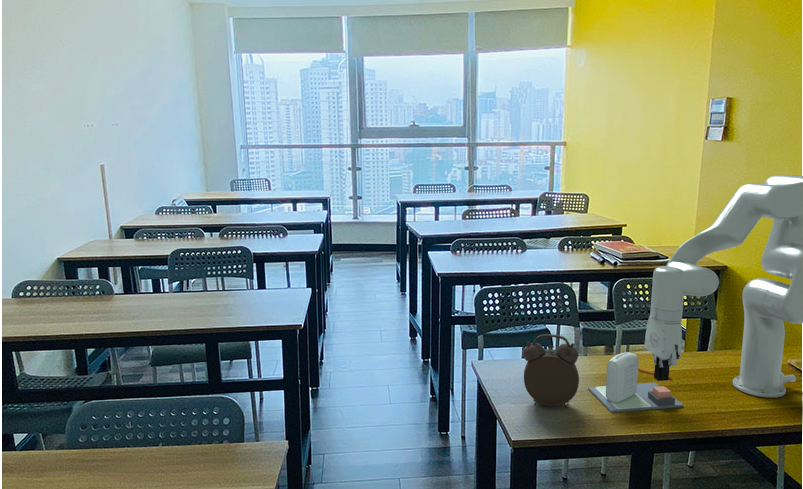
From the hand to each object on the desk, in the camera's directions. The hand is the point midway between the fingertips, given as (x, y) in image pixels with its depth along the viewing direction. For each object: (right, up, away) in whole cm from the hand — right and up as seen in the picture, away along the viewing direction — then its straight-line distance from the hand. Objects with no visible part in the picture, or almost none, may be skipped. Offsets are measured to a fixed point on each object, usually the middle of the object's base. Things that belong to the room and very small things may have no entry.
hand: (661, 379), depth 147 cm
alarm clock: (-29, -8, +2) cm, 30 cm away
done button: (+1, -5, +1) cm, 5 cm away
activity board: (-5, -6, +5) cm, 9 cm away
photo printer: (-9, -6, +4) cm, 12 cm away
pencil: (+4, -3, +22) cm, 23 cm away
